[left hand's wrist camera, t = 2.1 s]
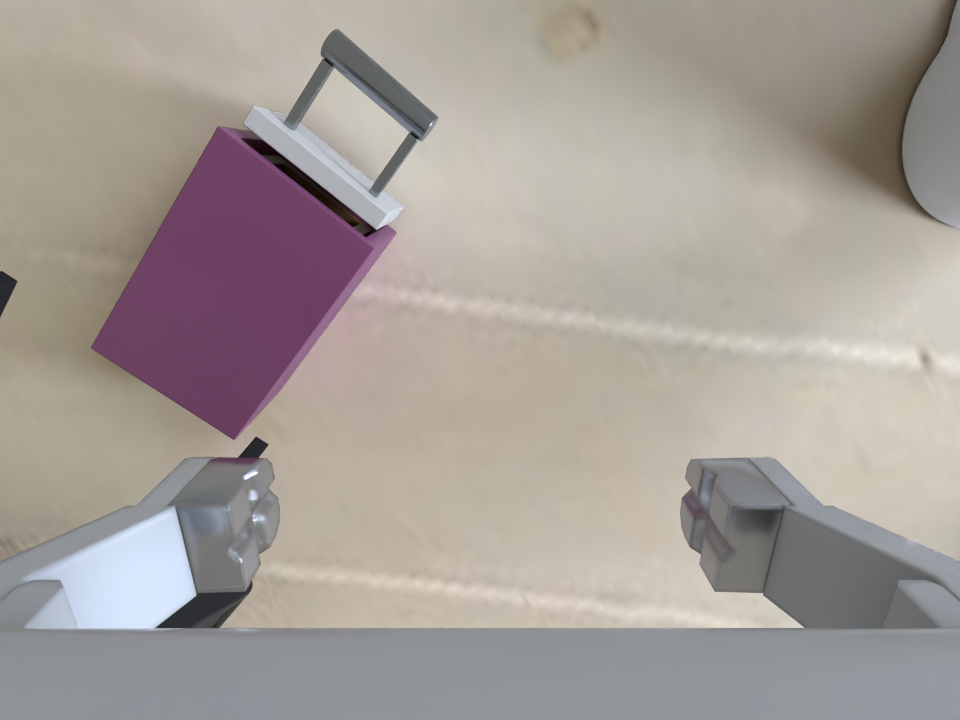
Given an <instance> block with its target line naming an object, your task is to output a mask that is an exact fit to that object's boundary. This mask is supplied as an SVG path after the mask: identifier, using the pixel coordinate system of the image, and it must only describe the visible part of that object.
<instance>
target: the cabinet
mask: <svg viewBox="0 0 960 720" xmlns="http://www.w3.org/2000/svg"><path fill="white" fill-rule="evenodd" d="M261 155H271V156H280V157H281V158H283V159H284V160H285V161H286V162H288V163H289V164H290V165H291V166H293V167H294V168H295V169H296V170H298V171H299V172H300V173H301V174H303V175H304V176H305V177H307V178H308V179H309V180H310V181H312V182H313V183H314V184H315V185H317V186H318V187H319V188H320V189H322V190H323V191H324V192H325V193H327V194H328V195H329V196H331V197H332V198H333V199H334V200H336V201H337V202H338V203H339V204H341V205H342V206H343V207H344V208H346V209H347V210H348V211H349V212H351V213H352V214H353V215H355V216H356V217H357V218H358V219H360V220H361V221H362V222H363V223H365V224H366V225H367V226H368V227H370V228H371V229H372V231H371V232H370V234H369V235H368V237H365V236H363V235H362V234H361V233H360V232H358V231H357V230H356V229H354V228H353V227H352V226H351V225H349V224H348V223H347V222H346V221H344V220H343V219H342V218H340V217H339V216H338V215H337V214H335V213H334V212H333V211H332V210H330V209H329V208H328V207H326V206H325V205H324V204H323V203H321V202H320V201H319V200H318V199H316V198H315V197H314V196H312V195H311V194H310V193H309V192H307V191H306V190H305V189H304V188H302V187H301V186H300V185H298V184H297V183H296V182H295V181H293V180H292V179H291V178H290V177H288V176H287V175H286V174H284V173H283V172H282V171H281V170H279V169H278V168H277V167H275V166H274V165H273V164H272V163H270V162H269V161H268V160H267V159H265V158H264V157H263V156H261ZM395 235H396V232H395V231H394V230H393V229H392V228H390V227H389V226H388V225H387V224H386V225H384V226H383V227H381V228H379V229H377V230H376V229H375V228H373V227H372V226H371V225H369V224H368V223H367V222H366V221H364V220H363V219H362V218H361V217H359V216H358V215H357V214H356V213H354V212H353V211H352V210H351V209H349V208H348V207H347V206H346V205H344V204H343V203H342V202H340V201H339V200H338V199H337V198H335V197H334V196H333V195H332V194H330V193H329V192H328V191H327V190H325V189H324V188H323V187H322V186H320V185H319V184H318V183H317V182H315V181H314V180H313V179H311V178H310V177H309V176H308V175H306V174H305V173H304V172H303V171H301V170H300V169H299V168H298V167H296V166H295V165H294V164H293V163H291V162H290V161H289V160H288V159H286V158H285V157H284V156H282V155H281V154H280V153H279V152H277V151H276V150H275V149H274V148H272V147H271V146H270V145H269V144H267V143H266V142H265V141H264V140H262V139H261V138H260V137H258V136H257V135H256V134H255V133H253V132H252V131H245V130H239V129H232V128H226V127H220V126H218V127H217V129H216V131H215V133H214V134H213V136H212V138H211V140H210V141H209V143H208V145H207V147H206V148H205V150H204V152H203V154H202V155H201V157H200V159H199V161H198V162H197V164H196V166H195V167H194V169H193V171H192V173H191V174H190V176H189V178H188V180H187V181H186V183H185V185H184V187H183V188H182V190H181V192H180V194H179V195H178V197H177V199H176V201H175V202H174V204H173V206H172V208H171V209H170V211H169V213H168V214H167V216H166V218H165V220H164V221H163V223H162V225H161V227H160V228H159V230H158V232H157V234H156V235H155V237H154V239H153V241H152V242H151V244H150V246H149V248H148V249H147V251H146V253H145V255H144V256H143V258H142V260H141V261H140V263H139V265H138V267H137V268H136V270H135V272H134V274H133V275H132V277H131V279H130V281H129V282H128V284H127V286H126V288H125V289H124V291H123V293H122V295H121V296H120V298H119V300H118V302H117V303H116V305H115V307H114V308H113V310H112V312H111V314H110V315H109V317H108V319H107V321H106V322H105V324H104V326H103V328H102V329H101V331H100V333H99V335H98V336H97V338H96V340H95V342H94V343H93V345H92V347H91V348H92V349H93V350H95V351H96V352H98V353H99V354H101V355H102V356H104V357H106V358H107V359H109V360H110V361H112V362H113V363H115V364H116V365H118V366H120V367H121V368H123V369H124V370H126V371H127V372H129V373H130V374H132V375H134V376H135V377H137V378H138V379H140V380H141V381H143V382H145V383H146V384H148V385H149V386H151V387H152V388H154V389H155V390H157V391H159V392H160V393H162V394H163V395H165V396H166V397H168V398H169V399H171V400H173V401H174V402H176V403H177V404H179V405H180V406H182V407H183V408H185V409H187V410H188V411H190V412H191V413H193V414H194V415H196V416H197V417H199V418H201V419H202V420H204V421H205V422H207V423H208V424H210V425H212V426H213V427H215V428H216V429H218V430H219V431H221V432H222V433H224V434H226V435H227V436H229V437H230V438H232V439H233V440H235V439H236V438H237V437H238V436H239V435H240V434H241V433H242V431H243V430H244V429H245V428H246V427H247V426H248V425H249V424H250V423H251V422H252V421H253V420H254V419H255V417H256V416H257V415H258V414H259V413H260V412H261V411H262V410H263V409H264V408H265V407H266V406H267V405H268V403H269V402H270V401H271V400H272V399H273V398H274V397H275V396H276V395H277V394H278V393H279V391H280V390H281V389H282V387H283V386H284V385H285V383H286V382H287V381H288V379H289V378H290V377H291V375H292V374H293V372H294V371H295V370H296V368H297V367H298V366H299V364H300V363H301V362H302V360H303V359H304V358H305V356H306V355H307V354H308V352H309V351H310V349H311V348H312V347H313V345H314V344H315V343H316V341H317V340H318V339H319V337H320V336H321V335H322V333H323V332H324V331H325V329H326V328H327V326H328V325H329V324H330V322H331V321H332V320H333V318H334V317H335V316H336V314H337V313H338V312H339V310H340V309H341V308H342V306H343V305H344V304H345V302H346V301H347V299H348V298H349V297H350V295H351V294H352V293H353V291H354V290H355V289H356V287H357V286H358V285H359V283H360V282H361V281H362V279H363V278H364V276H365V275H366V274H367V272H368V271H369V270H370V268H371V267H372V266H373V264H374V263H375V262H376V260H377V259H378V258H379V256H380V255H381V253H382V252H383V251H384V249H385V248H386V247H387V245H388V244H389V243H390V241H391V240H392V239H393V237H394V236H395Z"/></svg>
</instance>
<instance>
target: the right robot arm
mask: <svg viewBox="0 0 960 720" xmlns="http://www.w3.org/2000/svg"><path fill="white" fill-rule="evenodd" d="M16 284H17V281H16V280H15V279H13V278H12V277H10V276H9V275H7V274H6V273H4V272H3V271H0V316H1V314H2V312H3V310H4V308H5V306H6V304H7V302H8V300H9V298H10V296H11V294H12V292H13V290H14V288H15V286H16ZM267 446H268V444H267V443H265V442H264V441H262V440H261V439H259V438H258V437H255V439H254V440H253V441H252V442H251V443H250V444H249V445H248V447H247V448H246V449H245V450H244V451H243V452H242V454H241V455H240V456H239V457H238V458H259V457H260V455H261V454H262V453H263V451H264V450H265V449H266V447H267ZM251 589H252V580H251V582H250V584H249V586H248V588H247V589H246V591H245V592H213V593H196V594H197V595H196V596H195V597H194V598H193V599H191V600H190V601H189V602H188V603H186V604H185V605H184V606H182V607H181V608H180V609H179V610H177V611H176V612H175V613H173V614H172V615H171V616H170V617H168V618H167V619H166V620H164V621H163V622H162V623H161V624H159V625H158V626H157V627H155V628H219V627H220V626H221V625H222V624H223V623H224V622H225V621H226V620H227V618H228V617H229V616H230V615H231V614H232V613H233V611H234V610H235V609H236V608H237V607H238V605H239V604H240V603H241V602H242V601H243V600H244V598H245V597H246V596H247V595H248V594H249V592H250V591H251Z"/></svg>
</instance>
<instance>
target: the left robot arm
mask: <svg viewBox="0 0 960 720" xmlns="http://www.w3.org/2000/svg"><path fill="white" fill-rule="evenodd" d="M902 160H903V168H904V172H905V176H906V180H907V183H908V185H909V188H910V190H911V192H912V194H913V195H914V197H915V198H916V200H917V201H918V203H919V204H920V205H921V206H922V207H923V208H924V209H925V210H926V211H927V212H928V213H929V214H930V215H931V216H933V217H934V218H936V219H937V220H939V221H941V222H943V223H945V224H947V225H950V226H953V227H956V228H960V0H957V2H956V5H955V8H954V11H953V15H952V19H951V22H950V26H949V30H948V35H947V37H946V39H945V42H944V44H943V46H942V47H941V49H940V51H939V53H938V54H937V56H936V57H935V59H934V60H933V62H932V63H931V65H930V67H929V68H928V70H927V71H926V73H925V75H924V76H923V78H922V80H921V82H920V84H919V86H918V88H917V90H916V92H915V94H914V97H913V99H912V102H911V104H910V107H909V110H908V114H907V117H906V121H905V126H904V132H903V140H902ZM274 479H275V476H274V471H273V467H272V463H271V462H270V461H269V460H268V459H267V458H221V457H218V458H215V457H192V458H186V459H184V460H183V461H182V462H181V463H180V464H179V465H178V466H177V467H176V468H175V469H174V470H173V471H172V472H171V473H170V474H169V475H168V476H167V477H166V478H165V479H163V480H162V481H161V482H160V483H159V484H158V485H157V486H156V487H155V488H154V489H153V490H152V491H151V492H150V493H149V494H148V495H147V496H146V497H145V498H144V499H143V500H142V501H141V502H140V503H139V504H138V505H137V506H126V507H124V508H122V509H119V510H117V511H115V512H113V513H110V514H108V515H106V516H103V517H101V518H99V519H97V520H94V521H92V522H90V523H87V524H85V525H83V526H81V527H78V528H76V529H74V530H71V531H69V532H67V533H64V534H62V535H60V536H58V537H55V538H53V539H51V540H48V541H46V542H44V543H42V544H39V545H37V546H35V547H32V548H30V549H28V550H26V551H23V552H21V553H19V554H16V555H14V556H12V557H10V558H7V559H5V560H3V561H0V720H960V562H959V561H957V560H955V559H952V558H950V557H948V556H946V555H943V554H941V553H939V552H936V551H934V550H932V549H930V548H927V547H925V546H923V545H920V544H918V543H916V542H914V541H911V540H909V539H907V538H904V537H902V536H900V535H898V534H895V533H893V532H891V531H888V530H886V529H884V528H882V527H879V526H877V525H875V524H873V523H870V522H868V521H866V520H863V519H861V518H859V517H857V516H854V515H852V514H850V513H847V512H845V511H843V510H841V509H838V508H836V507H834V506H823V505H822V504H821V503H820V502H819V501H818V500H817V499H816V498H815V497H814V496H813V495H812V494H811V493H810V492H809V491H808V490H807V489H806V488H805V487H804V486H803V485H802V484H801V483H800V482H799V481H798V480H797V479H796V478H795V477H794V476H793V475H791V474H790V473H789V472H788V471H787V470H786V469H785V468H784V467H783V466H782V465H781V464H780V463H779V462H778V461H777V460H776V459H773V458H771V457H752V458H715V459H691V460H690V462H689V464H688V466H687V470H686V476H685V479H686V480H687V482H688V483H689V485H690V487H691V489H690V490H689V491H688V492H687V493H686V494H685V495H684V496H683V497H682V501H681V509H680V517H681V527H682V530H683V533H684V537H685V539H686V541H687V543H688V545H689V546H690V547H691V548H692V549H694V550H695V551H697V552H698V553H700V554H701V558H700V563H699V564H700V566H701V568H702V570H703V572H704V573H705V575H706V577H707V579H708V580H709V582H710V584H711V586H712V587H713V589H714V591H715V592H747V593H764V594H763V595H764V596H765V597H766V598H768V599H769V600H770V601H771V602H773V603H774V604H775V605H776V606H778V607H779V608H780V609H782V610H783V611H784V612H785V613H787V614H788V615H789V616H791V617H792V618H793V619H794V620H796V621H797V622H798V623H800V624H801V625H802V626H803V627H805V628H155V627H157V626H158V625H159V624H161V623H162V622H163V621H164V620H166V619H167V618H168V617H170V616H171V615H172V614H173V613H175V612H176V611H177V610H179V609H180V608H181V607H182V606H184V605H185V604H186V603H188V602H189V601H190V600H191V599H193V598H194V597H195V596H196V595H197V594H196V593H213V592H245V591H246V589H247V588H248V586H249V584H250V582H251V580H252V579H253V577H254V575H255V573H256V572H257V570H258V568H259V566H260V564H261V563H260V558H259V554H260V553H262V552H263V551H265V550H266V549H268V548H269V547H270V546H271V544H272V543H273V541H274V539H275V537H276V534H277V529H278V525H279V519H280V508H279V501H278V497H277V496H276V495H275V494H274V493H273V492H272V491H271V490H270V489H269V487H270V485H271V483H272V482H273V480H274Z"/></svg>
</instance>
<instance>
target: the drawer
mask: <svg viewBox="0 0 960 720" xmlns="http://www.w3.org/2000/svg"><path fill="white" fill-rule="evenodd" d="M321 56H322V57H323V58H324V59H322V61H321V63H320V64H319V66H318V68H317V69H316V71H315V72H314V74H313V76H312V77H311V79H310V81H309V82H308V84H307V85H306V87H305V89H304V90H303V92H302V94H301V95H300V97H299V98H298V100H297V102H296V103H295V105H294V107H293V108H292V110H291V111H290V113H289V115H287V114H283V113H279V112H276V111H272V110H268V109H264V108H260V107H257V106H253V107H252V108H251V110H250V112H249V113H248V115H247V117H246V118H245V120H244V122H243V125H245V126H246V127H247V128H248V129H250V130H251V131H252V132H253V133H255V134H256V135H257V136H258V137H260V138H261V139H262V140H264V141H265V142H266V143H267V144H269V145H270V146H271V147H272V148H274V149H275V150H276V151H277V152H279V153H280V154H281V155H282V156H284V157H285V158H286V159H288V160H289V161H290V162H291V163H293V164H294V165H295V166H296V167H298V168H299V169H300V170H301V171H303V172H304V173H305V174H306V175H308V176H309V177H310V178H311V179H313V180H314V181H315V182H317V183H318V184H319V185H320V186H322V187H323V188H324V189H325V190H327V191H328V192H329V193H330V194H332V195H333V196H334V197H335V198H337V199H338V200H339V201H340V202H342V203H343V204H344V205H346V206H347V207H348V208H349V209H351V210H352V211H353V212H354V213H356V214H357V215H358V216H359V217H361V218H362V219H363V220H364V221H366V222H367V223H368V224H369V225H371V226H372V227H373V228H375V229H376V230H377V229H379V228H381V227H383V226H384V225H386V224H388V223H390V222H391V221H393V220H395V218H396V217H397V215H398V214H399V213H400V211H401V210H402V209H403V206H402V205H401V204H400V203H398V202H397V201H396V200H395V199H393V198H392V197H391V196H390V195H389V194H387V193H386V192H385V191H384V188H385V187H386V185H387V184H388V183H389V181H390V180H391V178H392V177H393V176H394V174H395V173H396V171H397V170H398V169H399V167H400V166H401V164H402V163H403V162H404V160H405V159H406V157H407V156H408V154H409V153H410V152H411V150H412V149H413V147H414V146H415V145H416V143H417V142H418V140H419V141H423V140H424V139H425V138H426V137H427V136H428V134H429V133H430V132H431V130H432V129H433V127H434V126H435V124H436V122H437V120H438V116H437V115H435V114H434V113H433V112H432V111H431V110H430V109H429V108H427V107H426V106H425V105H424V104H423V103H422V102H421V101H420V100H418V99H417V98H416V97H415V96H414V95H413V94H412V93H410V92H409V91H408V90H407V89H406V88H405V87H404V86H402V85H401V84H400V83H399V82H398V81H397V80H396V79H394V78H393V77H392V76H391V75H390V74H389V73H388V72H386V71H385V70H384V69H383V68H382V67H381V66H380V65H378V64H377V63H376V62H375V61H374V60H373V59H372V58H370V57H369V56H368V55H367V54H366V53H365V52H364V51H363V50H361V49H360V48H359V47H358V46H357V45H356V44H355V43H353V42H352V41H351V40H350V39H349V38H348V37H347V36H345V35H344V34H343V33H342V32H341V31H340V30H338V29H335V30H334V31H332V32H331V33H330V34H329V35H328V37H327V38H326V40H325V41H324V43H323V46H322V49H321ZM334 68H335V69H337V70H338V71H339V72H340V73H341V74H342V75H344V76H345V77H346V78H347V79H348V80H349V81H351V82H352V83H353V84H354V85H355V86H356V87H358V88H359V89H360V90H361V91H362V92H363V93H365V94H366V95H367V96H368V97H369V98H370V99H372V100H373V101H374V102H375V103H376V104H377V105H379V106H380V107H381V108H382V109H383V110H384V111H386V112H387V113H388V114H389V115H390V116H391V117H393V118H394V119H395V120H396V121H397V122H398V123H400V124H401V125H402V126H403V127H404V128H405V129H407V130H408V131H409V132H410V133H409V134H408V135H407V137H406V138H405V140H404V141H403V143H402V144H401V145H400V147H399V148H398V150H397V151H396V153H395V154H394V155H393V157H392V158H391V160H390V161H389V163H388V164H387V165H386V167H385V168H384V170H383V171H382V173H381V174H380V175H379V177H378V178H377V180H376V181H375V183H374V182H373V181H371V180H370V179H369V178H368V177H366V176H365V175H364V174H363V173H362V172H360V171H359V170H358V169H357V168H355V167H354V166H353V165H352V164H351V163H349V162H348V161H347V160H346V159H344V158H343V157H342V156H341V155H340V154H338V153H337V152H336V151H335V150H333V149H332V148H331V147H330V146H328V145H327V144H326V143H325V142H324V141H322V140H321V139H320V138H319V137H317V136H316V135H315V134H314V133H313V132H311V131H310V130H309V129H308V128H306V127H305V126H304V125H303V124H302V123H300V122H301V120H302V119H303V117H304V115H305V114H306V112H307V111H308V109H309V107H310V106H311V104H312V103H313V101H314V99H315V98H316V96H317V95H318V93H319V91H320V90H321V88H322V87H323V85H324V83H325V82H326V80H327V79H328V77H329V75H330V74H331V72H332V71H333V69H334ZM261 156H263V157H264V158H265V159H267V160H268V161H269V162H270V163H272V164H273V165H274V166H275V167H277V168H278V169H279V170H281V171H282V172H283V173H284V174H286V175H287V176H288V177H290V178H291V179H292V180H293V181H295V182H296V183H297V184H298V185H300V186H301V187H302V188H304V189H305V190H306V191H307V192H309V193H310V194H311V195H312V196H314V197H315V198H316V199H318V200H319V201H320V202H321V203H323V204H324V205H325V206H326V207H328V208H329V209H330V210H332V211H333V212H334V213H335V214H337V215H338V216H339V217H340V218H342V219H343V220H344V221H346V222H347V223H348V224H349V225H351V226H352V227H353V228H354V229H356V230H357V231H358V232H360V233H361V234H362V235H363V236H365V237H368V235H369V234H370V232H371V231H372V229H371V228H370V227H368V226H367V225H366V224H365V223H363V222H362V221H361V220H360V219H358V218H357V217H356V216H355V215H353V214H352V213H351V212H349V211H348V210H347V209H346V208H344V207H343V206H342V205H341V204H339V203H338V202H337V201H336V200H334V199H333V198H332V197H331V196H329V195H328V194H327V193H325V192H324V191H323V190H322V189H320V188H319V187H318V186H317V185H315V184H314V183H313V182H312V181H310V180H309V179H308V178H307V177H305V176H304V175H303V174H301V173H300V172H299V171H298V170H296V169H295V168H294V167H293V166H291V165H290V164H289V163H288V162H286V161H285V160H284V159H283V158H281V157H280V156H271V155H261Z"/></svg>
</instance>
